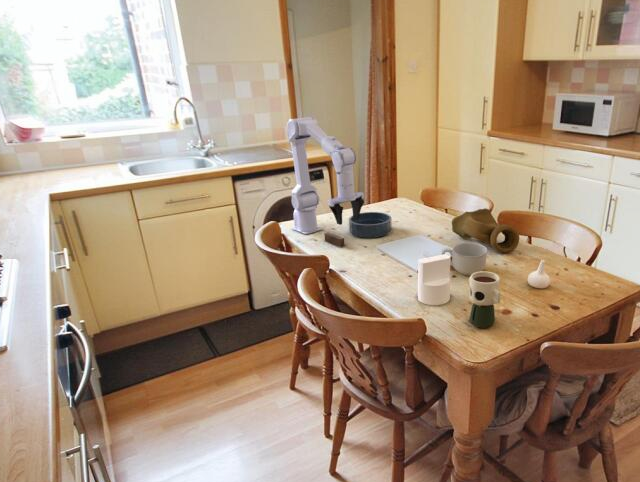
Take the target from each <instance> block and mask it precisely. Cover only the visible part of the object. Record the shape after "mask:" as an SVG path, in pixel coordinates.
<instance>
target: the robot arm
mask: <svg viewBox="0 0 640 482" xmlns="http://www.w3.org/2000/svg"><path fill="white" fill-rule="evenodd" d="M286 131H287V133H286V134H287V139H288V142H290V148H291V153H292V160H293V167H294V174H295V181H296V185H295V187H294V188H293V190H291V205H292V208H293V209H294V211H293V214H292V215H293V224H294V225H293V226H294V227H292V230H294V231H296V232H298V233H301V234H304V235H308V234H312V233H315V232H319V231H322V230H323V228H322V227H319V226H318V221H317V220H318V219H317V210H316V209H318V206H319V204H320V196H319V193H318V189H317V187H316V186H314V185H312V183H311V178H310V170H309V163H308V156H307V149H306V143H307V141H308V140H309V139H311V138H312V139H314V140H315V141H317V142H318V143H319V144H320V145H321V150H323V151H324V152H325V153H326V154H327V155H328V156H329V157H330V158H331V161H332V164H333V166H334V167H333V168H334V172H336V184H337V185H336V186H337V196H336V197H333V198H331V199H328V200H327V204H328V207H329V209H330V210H331V212H332V214H333V216H334V219H335V222H336V224H337V225H340V226H341V225H343V212H344V211H343V210H344V206H341V204H344V203H348V202H350V204H351V208H352V216H353V218H354V219H356V220H358V219H359V214H360V213H361V210H362V207H363V205H364V203H365V192H363V191H358V192H355V180H354V179H355V178H354V164H356V162H357V154H356V152H355V150H354V149H353V147H351V146H349V147H347V146H345V145H343V144H342V143H341V142H340V141H339V140H338V139H336V137H335V136H334V135H330V136H328V134H327V133H325V131H324V130H323V129H321V127H320V126H319V121H318V120H317V119H316V118H315V117H314V116H308V117H299V118H290V119H289V120H288V122H287V123H286Z"/></svg>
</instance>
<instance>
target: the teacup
mask: <svg viewBox="0 0 640 482" xmlns="http://www.w3.org/2000/svg"><path fill="white" fill-rule="evenodd" d="M446 253H449V254H450V257H451V259H452V260H451V259H450V267H452V268H453V269H454V270H455V271H456V272H457V273H459V274H461V275H463V276H468V277H470V276H471V275H472V274H473V273H475V272H480V271H484V269H485V268H486V264H487V254H488V248H487V247H486V246H485V245H483V244H481V243H477V242H471V241H464V242H459V243H456V244H454V245H453V246H452V248H449V247H446V248H444V249H442V251H441V254H440V255H443V254H446Z"/></svg>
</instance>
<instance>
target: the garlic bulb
mask: <svg viewBox="0 0 640 482" xmlns="http://www.w3.org/2000/svg"><path fill="white" fill-rule="evenodd" d="M545 263H546V260H545V259H540V262H539V264H538V268H537V269H536V270H534V271H532V272H530V273H529V274H528V276H527V283H528V285H529V286H531V287H533V288H535V289H546V288H548V287H549V285H550V283H551V278H550V277H549V275H548V274H547V273H546V272H545Z"/></svg>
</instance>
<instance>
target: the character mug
mask: <svg viewBox="0 0 640 482" xmlns="http://www.w3.org/2000/svg"><path fill="white" fill-rule="evenodd" d="M500 284H501V278H500V276H499V275H498V274H496V273H495V272H492V271H488V270H487V271H484V270H482V271H480V272H475V273H473V274H472V275H471V276H469V278H468V287H469V290H468V291H469V292H468V296H469V297H468V298H469V300H470V302H471V303H472V304H471V310H470V315H469V322H470V324H472V323H473V326H474V327H477V328H485V329H486V328H488V327H492V326H493V325H494V324H495V322H496V315H495V314H496V312H495V304H500V303H501V296H502V292H501V291H500V286H501V285H500Z"/></svg>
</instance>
